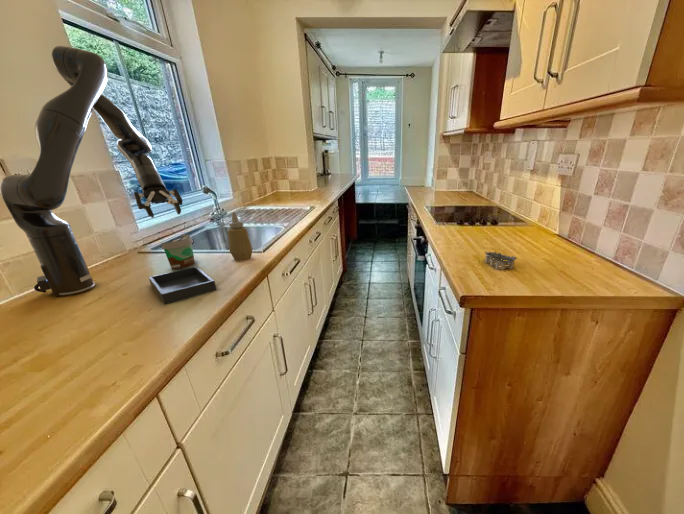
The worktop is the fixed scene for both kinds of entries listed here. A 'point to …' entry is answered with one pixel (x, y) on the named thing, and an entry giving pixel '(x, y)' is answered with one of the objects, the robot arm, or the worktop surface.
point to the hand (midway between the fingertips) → (166, 214)
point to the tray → (182, 284)
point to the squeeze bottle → (239, 240)
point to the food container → (179, 252)
